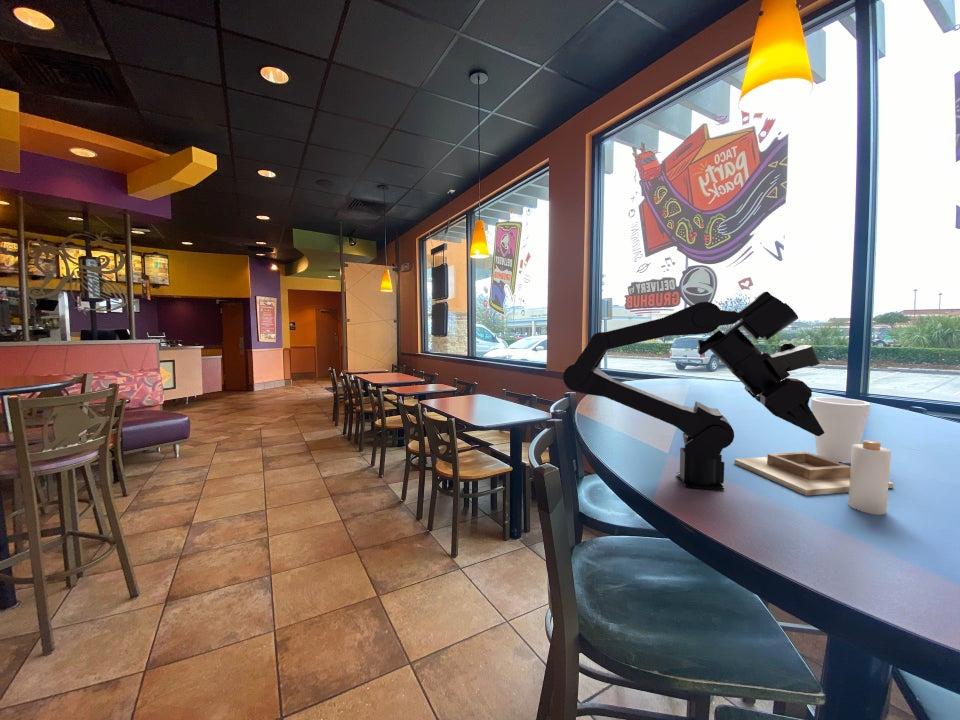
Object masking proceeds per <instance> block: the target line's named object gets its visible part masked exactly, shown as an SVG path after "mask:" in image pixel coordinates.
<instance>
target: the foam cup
mask: <svg viewBox="0 0 960 720" xmlns="http://www.w3.org/2000/svg"><path fill="white" fill-rule="evenodd" d="M810 400H811V402H810V409H811V411H812V413H813V414H814V416H815V417H816V419H817V421H818V422H819V424H820V426H821V427H822V429H823V431H824V434H822V435H821V436H816V435H814V439H815V450H816V455H817V456H820V457H823V458H826V459H829V460H832V461H835V462H838V463H839V462H842V463H841V464H851V457H852V445H854V444H862V440H863V439H862V438H863V434H864V430H865V427H866V424H867V419H868V416H869V415H870V409H871V403H870V402H867V401H865V400H861V399H854V398H845V397H835V396H834V397H832V396H816V397H811V398H810Z"/></svg>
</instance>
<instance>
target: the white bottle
mask: <svg viewBox="0 0 960 720" xmlns="http://www.w3.org/2000/svg"><path fill="white" fill-rule="evenodd" d="M891 460H892V450H890V449H888V448H885V447H882V445H881V442H879V441H874V440H867V439H866V440H865V439H864V440H862V443H860V444H854V445H852V457H851V463H850V467H851V471H850V485H849V492H848V501H847V504H848V506H849V507H850V508H852V509H854V510H856V509H857V510H856V511H859V510H860V512H863V513H866V514H870V515H871V514H872V515H876V516H877V515H878V516H879V515H886V514H887V510H888V509H887V508H888V498H889V497H888V496H889V489H888V487H889V482H890V472H891Z"/></svg>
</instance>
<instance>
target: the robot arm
mask: <svg viewBox="0 0 960 720" xmlns="http://www.w3.org/2000/svg"><path fill="white" fill-rule="evenodd" d="M797 320H799V316H798V314H797V313H796V312H795V311H794V309H793V308H792V307H791V306H790V305H789V304H788V303H786V302H783V301H781V300H780V299H779V298H778V297H776V296H774V295H772V293H770V292H769V291H764V292H762V293H760V294H759V295H758V296H756V298H755V299H754V300H753V301H751V302H750V303H749V304H748V305H747V306H745V307H744V308H742V309H741V310H740V311H736V310H724V309H720V307H719V306H718V305H717V304H715V303H712V302H709V301H700V302H696V303H694V304H692V305H690V306H687V307H685V308H683V309H680V310H677V311H675V312H673V313H671V314H667V315H666V316H664V317H661V318H657V319H652V320H649V321H644V322H641V323H636V324H632V325H629V326H624V327H621V328H620V327H619V328H616V329H612V330H608V331H601V332H596V333H594V334H593V335H592V336H591V338H590V340H589V342H588V343H587V345H586V347H584V349H583V351H582V352H581V353H580V355H579V356H578V358H577V359H576V360H575V362H574V363H573V364H570V365H569V366H568V367H567V368H565V370H564V372H563V375H562V379H563V382H564V384H565V387H566V388H567V389H569V390H570V391H573V392H575V393H579V394H583V395H588V396H595V397H602V398H603V397H604V398H606V399H608V400H611V401H614V402H617V403H618V404H621V405H622V406H626V407H627V408H631V409H633V410H636V411H638V412H640V413H643V414H645V415H648V416H649V417H652V418H655V419H658V420H659V421H663V422H665V423H666V424H669V425H672V426H674V427H675V428H678V430H680V431H681V432H683V433H682V437H683V438H682V439H683V444H684V447H680V448H679V449H680V451H679V453H680V454H679V455H680V456H679V472H676V475H677V474H678V473H680V474H678V476H679V477H680V479H681V480H682V481H681V480H680V479H679V480H680V481H681V482H683V483H684V484H685V485H684V484H683V483H682V484H683V485H684V487H685V486H687V487H686V488H688V487H691V488H690V489H700V490H701V489H703V490H714V491H715V490H716V491H724V490H725V486H724V485H723V484H724V483H725V482H724V481H725V461H723V460H722V458H723V455H722V451H723V449H726V448H728V447H730V445H732V443H733V442H734V439H735V431H734V429H733V426H732V425H731V424H730V422H729V421H728V419H727V417H725V416H724V415H723V414H722V413H721V412H720V410H719V408H713V407H708V406H706V405H704V404H703V403H701V402H699V401H695V403H694V407H692V406H685V405H680V404H678V403H676V402H673V401H671V400H668V399H665V398H663V397H660V396H658V395H655V394H653V393H650V392H647V391H645V390H642V389H640V388H637V387H634V386H632V385H629V384H627V383H625V382H622V381H619V380H616V379H614V378H612V377H611V376H610V375H608V374H607V373H605V372H604V371H603V370H602V369H600V368H598V367H599V365H600V363H601V362H602V360H603V358H604V356H606V353H607V352H608V350H611V349H612V350H613V349H616V348H620V347H623V346H629V345H633V344H637V343H642V342H646V341H650V340H656V339H660V338H665V337H673V336H674V337H676V336H689V335H705V334H706V335H707V334H710V333H712V332H714V333H713V334H712V335H710V336H708V337H707V338H706V339H698V340H697V345H698V348H697V353H698V355H701V356H702V355H704V354H705V353H706V352H708V351H711V352H712V354H713V355H714V356H715V357H716V358H717V359H718V360H719V361H720V362H721V363H722V364H723V365H724V366H725V367H726V368H727V369H728V370H729V372H731V374H732V375H733V376H734V377H736V378H737V379H738V381H740V383H742V384H743V385H744V390H745V391H746V392H747V394H749V395H750V396H751V397H752V398H753V399H755V400H756V402H759V403H760V404H761V405H762V406H763V407H764V408H765V409H767V411H768V412H769V413H771V414H772V415H773V416H775V417H777V418H779V419H781V420H783V421H785V422H787V423H790V424H792V425H794V426H795V427H798V428H800V429H802V430H804V431H806V432H808V433H810V434H812V435H814V436H815V435H816V436H821V435H822V434H824V431H823V429H822V427H821V426H820V424H819V422H818V421H817V419H816V417H815V416H814V414H813V413H812V409H811V406H809V403H810V400H811V399H812V396H813V393H812V392H813V389H811V387H809V386H808V385H807V384H806V383H805V382H804V381H802V380H800V379H798V378H792V377H789V376H791V374H790V373H789V372H792V371H797V370H800V369H803V368H807V367H816V366H819V365H820V360H819V358H818V356H817V354H816V351H815V349H814V347H813V345H809V344H803V345H797V346H795V345H794V344H792V342H786V343H783V344H780V345H778V347H777V351H776V352H774V353H772V354H769V353H768V352H764V351H762V350H760V348H759V347H758V346H756V345H755V344H754V343H753V342H752V341H751V340H750V339H749V338H748V337H747V336H746V335H745V334H744V333H746V334H747V335H748V336H749V337H751V338H752V339H753V340H755V341H758V340H759V339H762V340H765V341H768V340H770V339H771V338H772V337H774V336H776V335H777V334H779V333H780V332H781V331H782V330H784V329H785V328H787V327H788V326H790V325H791V324H793V323H794V322H796V321H797ZM728 325H733V326H732V327H730V328H729V329H727V330H726V331H724V332H723V331H722V330H720V329H718V328H719V327H720V326H728ZM739 328H741V329H742V330H744V333H743V332H742V331H741V330H740V329H739ZM717 329H718V330H717ZM716 330H717V331H716ZM678 476H677V477H678ZM679 477H678V478H679Z"/></svg>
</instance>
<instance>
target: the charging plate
mask: <svg viewBox="0 0 960 720" xmlns="http://www.w3.org/2000/svg"><path fill="white" fill-rule="evenodd" d="M734 465H737V466H738V467H742V468H744V469H746V470H748V471H751V472H753V473H755V474H757V475H759V476H761V477H764V478H765V479H768V480H771V481H772V482H775V483H777V484H780V485H782V486H784V487H786V488H789V489H790V490H793V491H795V492H798V493H800V494H802V495H804V496H816V495H817V496H818V495H829V494H841V493H842V494H844V493H849V485H850V471H851V465H847V464H845V463H839V462H835V461H832V460H829V459H826V458H823V457H820V456H817V454H814V453H811V452H809V451H808V452H807V451H796V452H795V451H794V452H782V453H781V452H780V453H767V456H762V457H759V456H758V457H745V458H744V457H743V458H734ZM894 486H895V485H894V482H893V481H892V482H891V481H889V487H888V488H892V489H894Z"/></svg>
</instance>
